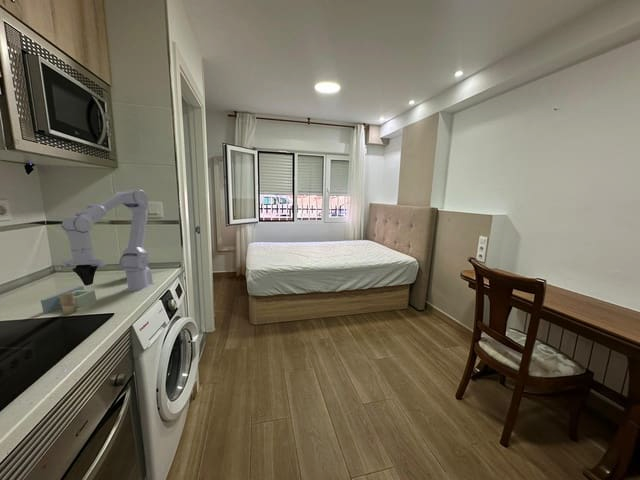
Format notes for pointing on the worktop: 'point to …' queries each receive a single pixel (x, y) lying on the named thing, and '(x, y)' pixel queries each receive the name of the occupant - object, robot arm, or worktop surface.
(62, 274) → the worktop surface
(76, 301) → the socket block
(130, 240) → the robot arm
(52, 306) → the backstop wall
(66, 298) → the dowel
